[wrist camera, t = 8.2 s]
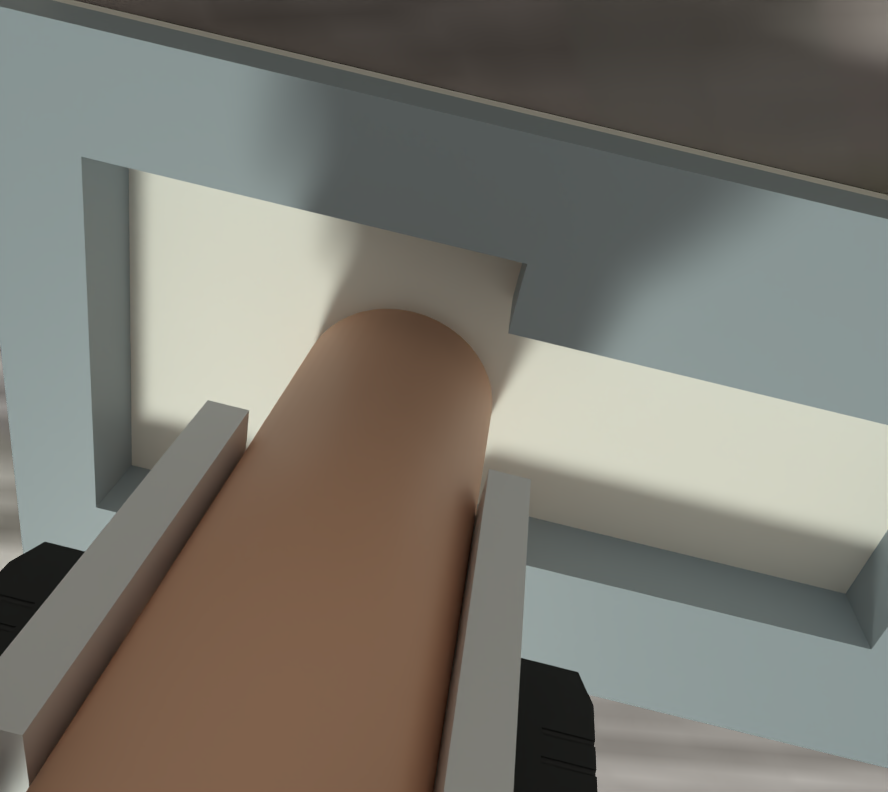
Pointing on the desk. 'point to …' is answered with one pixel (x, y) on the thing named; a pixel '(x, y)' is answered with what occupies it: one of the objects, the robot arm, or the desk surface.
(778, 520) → the keyhole board
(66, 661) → the robot arm
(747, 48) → the desk surface
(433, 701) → the peg
